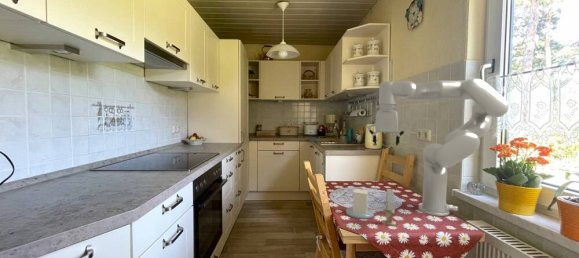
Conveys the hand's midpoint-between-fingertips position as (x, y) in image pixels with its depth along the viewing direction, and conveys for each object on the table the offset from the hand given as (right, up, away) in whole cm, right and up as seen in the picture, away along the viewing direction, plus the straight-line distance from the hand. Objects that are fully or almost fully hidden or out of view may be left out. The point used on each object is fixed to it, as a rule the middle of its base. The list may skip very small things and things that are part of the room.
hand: (385, 144), depth 125 cm
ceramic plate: (-14, -31, -7) cm, 34 cm away
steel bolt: (-8, -21, -26) cm, 34 cm away
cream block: (-14, -29, -7) cm, 33 cm away
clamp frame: (-3, -31, -11) cm, 33 cm away
